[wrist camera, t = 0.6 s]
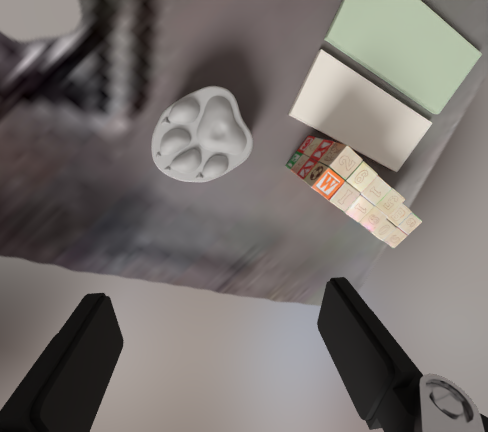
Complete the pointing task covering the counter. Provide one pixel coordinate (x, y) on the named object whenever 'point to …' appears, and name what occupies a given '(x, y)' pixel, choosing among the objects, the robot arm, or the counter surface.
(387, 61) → the sage mat
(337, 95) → the cream mat
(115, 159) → the counter surface
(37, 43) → the counter surface
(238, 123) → the grey animal paw
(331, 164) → the stack of blocks
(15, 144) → the counter surface
